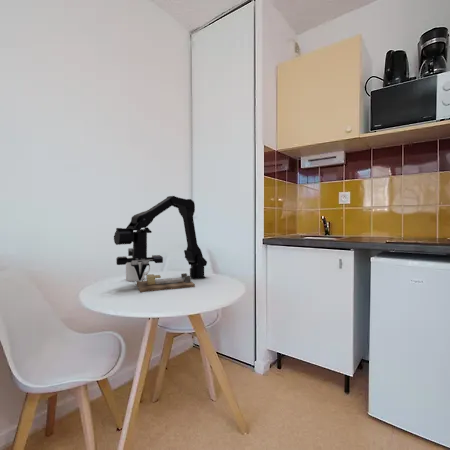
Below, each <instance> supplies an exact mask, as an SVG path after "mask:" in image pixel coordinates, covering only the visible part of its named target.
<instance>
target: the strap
mask: <svg viewBox="0 0 450 450" xmlns="http://www.w3.org/2000/svg"><path fill="white" fill-rule="evenodd" d="M175 282H185V277H181V276H180V277H169V278H155V284H164V283H175Z"/></svg>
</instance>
